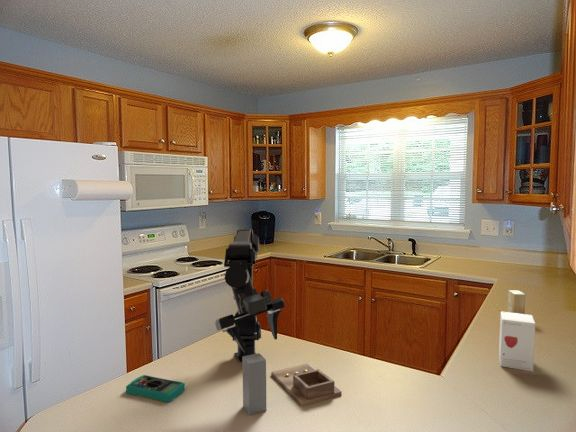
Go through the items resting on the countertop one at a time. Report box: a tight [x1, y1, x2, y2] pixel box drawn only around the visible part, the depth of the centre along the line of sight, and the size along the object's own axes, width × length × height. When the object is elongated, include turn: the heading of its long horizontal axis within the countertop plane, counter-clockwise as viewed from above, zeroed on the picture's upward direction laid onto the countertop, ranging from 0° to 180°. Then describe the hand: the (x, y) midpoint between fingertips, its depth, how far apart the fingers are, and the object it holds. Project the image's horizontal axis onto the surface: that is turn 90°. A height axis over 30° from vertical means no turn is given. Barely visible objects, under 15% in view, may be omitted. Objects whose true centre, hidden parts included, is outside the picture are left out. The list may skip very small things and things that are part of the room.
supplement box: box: [498, 311, 536, 373], centre depth 126 cm, size 9×9×15 cm
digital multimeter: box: [125, 374, 186, 403], centre depth 110 cm, size 7×15×3 cm, turn 69°
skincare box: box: [507, 289, 527, 314], centre depth 165 cm, size 6×4×12 cm
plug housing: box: [242, 352, 267, 416], centre depth 101 cm, size 4×4×13 cm
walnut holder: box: [270, 363, 343, 407], centre depth 113 cm, size 19×12×4 cm, turn 26°
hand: (260, 345), depth 107 cm, fingers open, 9 cm apart
